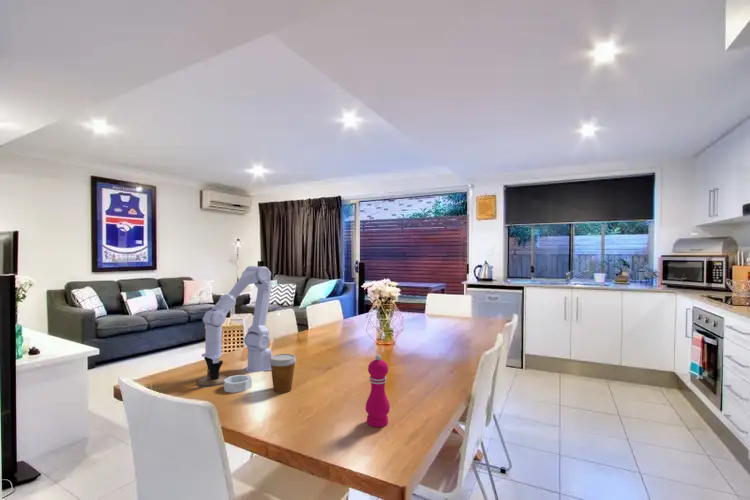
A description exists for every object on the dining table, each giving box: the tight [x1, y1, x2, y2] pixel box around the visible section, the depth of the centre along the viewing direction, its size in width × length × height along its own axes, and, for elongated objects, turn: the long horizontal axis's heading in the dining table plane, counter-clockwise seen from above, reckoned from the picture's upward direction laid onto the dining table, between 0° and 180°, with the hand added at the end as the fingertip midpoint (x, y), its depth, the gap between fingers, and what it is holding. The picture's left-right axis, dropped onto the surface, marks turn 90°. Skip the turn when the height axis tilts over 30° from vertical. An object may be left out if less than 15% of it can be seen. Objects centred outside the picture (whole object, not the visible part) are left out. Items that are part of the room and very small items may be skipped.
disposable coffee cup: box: [269, 353, 297, 394], centre depth 134 cm, size 10×10×12 cm
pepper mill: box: [365, 354, 391, 428], centre depth 109 cm, size 7×7×20 cm
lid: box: [198, 369, 228, 387], centre depth 140 cm, size 10×10×4 cm
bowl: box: [223, 374, 253, 394], centre depth 134 cm, size 9×9×4 cm
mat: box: [197, 379, 224, 389], centre depth 140 cm, size 10×10×1 cm
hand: (213, 377), depth 140 cm, fingers open, 5 cm apart
